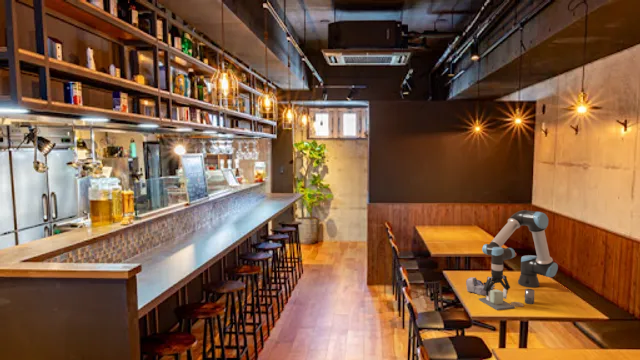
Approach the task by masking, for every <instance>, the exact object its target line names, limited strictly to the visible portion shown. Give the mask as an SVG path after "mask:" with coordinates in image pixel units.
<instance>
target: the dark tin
mask: <svg viewBox="0 0 640 360" xmlns="http://www.w3.org/2000/svg"><path fill="white" fill-rule="evenodd" d="M524 303H525V304H527V305H534V304H535V290H534V289H532V288H525V289H524Z"/></svg>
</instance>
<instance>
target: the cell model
mask: <svg viewBox="0 0 640 360" xmlns="http://www.w3.org/2000/svg"><path fill="white" fill-rule="evenodd" d="M485 284H486V282H485V281H484V282H482V281H481V279H477V278H476V277H474V276H473V277H472V276H471V277H468V278H467V279H466V282H465V285H466V290H467V292H469V293H473V294H476V295H480V296H486V291H485V290H483V288H484V286H485ZM495 287H496V284H494V285H493V286H492V288H491V289H490V290H496V288H495ZM490 290H489V291H490Z"/></svg>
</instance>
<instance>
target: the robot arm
mask: <svg viewBox="0 0 640 360" xmlns="http://www.w3.org/2000/svg"><path fill="white" fill-rule="evenodd" d="M522 226H525V227H526V226H527V228H528V231H529V232H531V234H532V239H533V242H534V248H535V253H536V255H531V254H530V255H529V254H528V255H523V256H521V258H520V275H519V277H518V279H517V284H518V285H520V286H523V287H526V288H538V287H540V281H539V278H538V275H540V276H543V277H547V278H553V277H555V276H556V275H557V272H558V269H559V265H558V264H557V263H556V262H555V261H554V260H553V257H551V256H550V251H549V246H548V242H547V237H546V232H545V230H546V229H547V227H548V226H549V217H548V216H547V214H546V213H544V212H542V211H535V210H527V209H522V210H519V211H517V212H515V213H513V214H512V215H511V216H510V217H509V218H508V219H507V223H506V224H505V225H504V226H503V227H502V228H501V230H500V231H499V232H498V233H497V234H496V236H495V237H494V238H493V239H492V240H491V241H490V243H489V244H488V243H485V244H483V246H482V248H481V251H482V254H484V255H487V256H491V267H490V268H491V270H490V274H491V276H487V278H486V284H485V286H484V288H483V290H485V291H486V295H485V296H486V297H485V298H486V300H488V301H490V291H489V290H490V289H491V288H492V286H493V285H496V284H498V283H500V285H502V287H503V290H502V292H503V299H505V300H507V298H508V291H509V290H510V289H511V286H510V283H509V281H508V279H507V278H508V277H507V275H505V274H504V261H506V260H511V259H513V258H515V257H516V252H515V250H514V248H512V247H503V245H504V244H505V243H506V242H507V240H508V239H509V238H510V237H511V236H512V235H513V233H514V232H515V231H516V230H517V229H520V228H521V227H522Z"/></svg>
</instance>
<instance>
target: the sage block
mask: <svg viewBox="0 0 640 360" xmlns="http://www.w3.org/2000/svg"><path fill="white" fill-rule="evenodd" d="M503 301H504V298H503V290H499V289H493V290H490V302H492V303H494V304H502V303H503Z"/></svg>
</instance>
